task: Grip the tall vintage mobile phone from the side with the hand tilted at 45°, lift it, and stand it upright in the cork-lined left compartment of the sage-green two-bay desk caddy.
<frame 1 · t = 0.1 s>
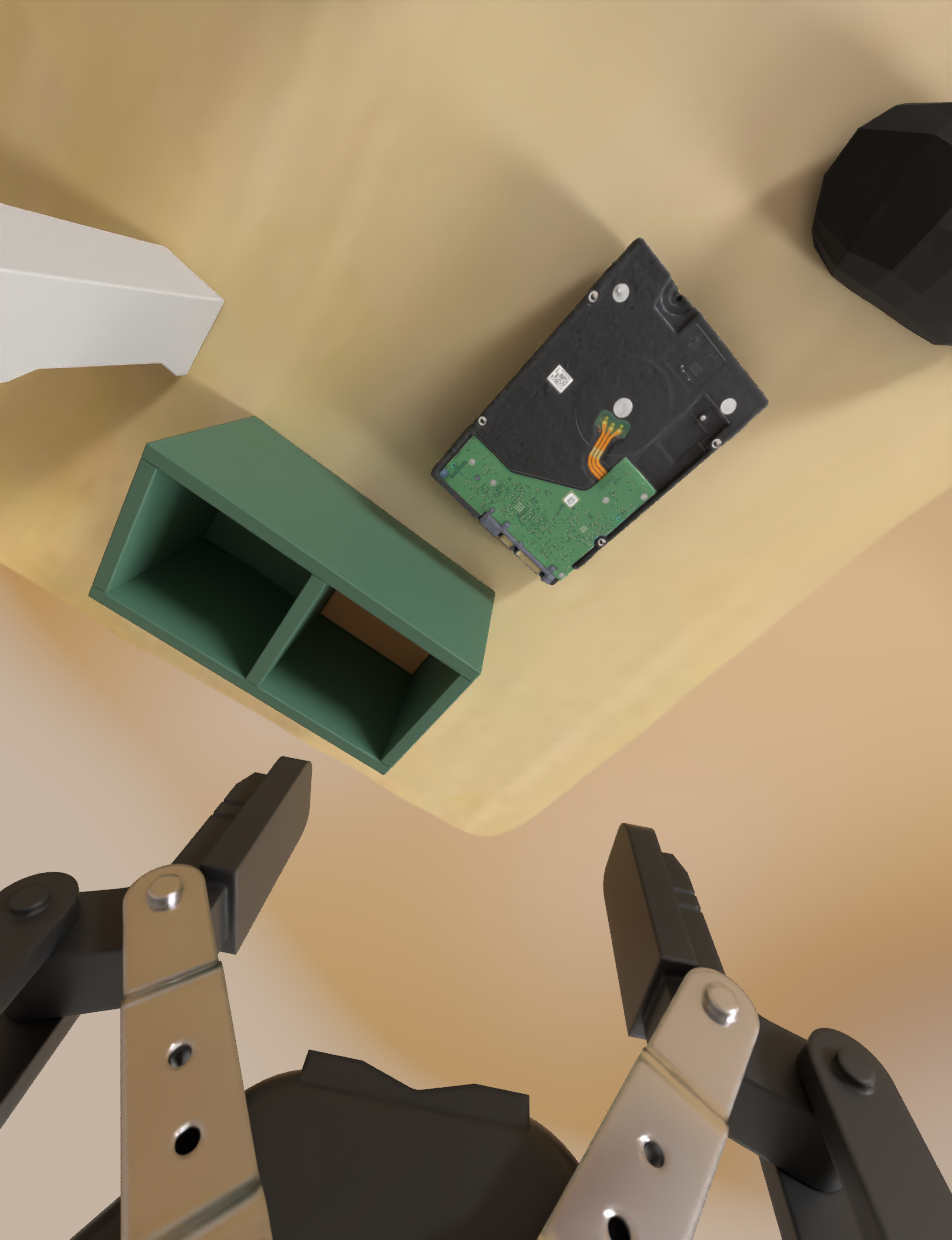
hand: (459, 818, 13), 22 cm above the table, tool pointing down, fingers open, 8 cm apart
vintage mobile phone: (181, 314, 29), on the table
disk drive: (584, 432, 30), on the table
caddy: (345, 563, 35), on the table
gaming mouse: (944, 259, 24), on the table
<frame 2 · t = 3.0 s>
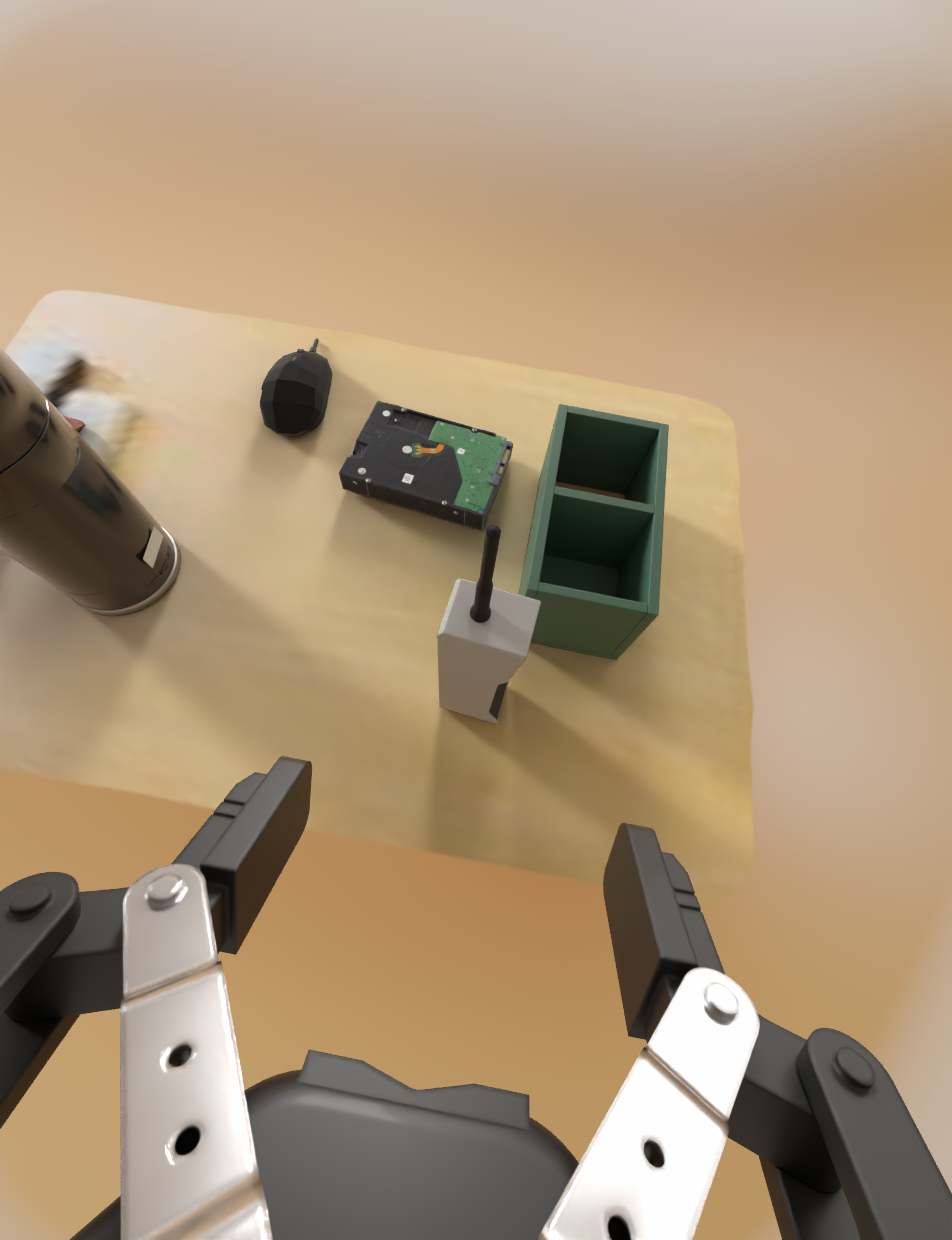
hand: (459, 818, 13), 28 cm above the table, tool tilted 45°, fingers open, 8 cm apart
vintage mobile phone: (473, 696, 44), on the table
disk drive: (429, 474, 53), on the table
caddy: (575, 561, 50), on the table
gaming mouse: (303, 389, 57), on the table
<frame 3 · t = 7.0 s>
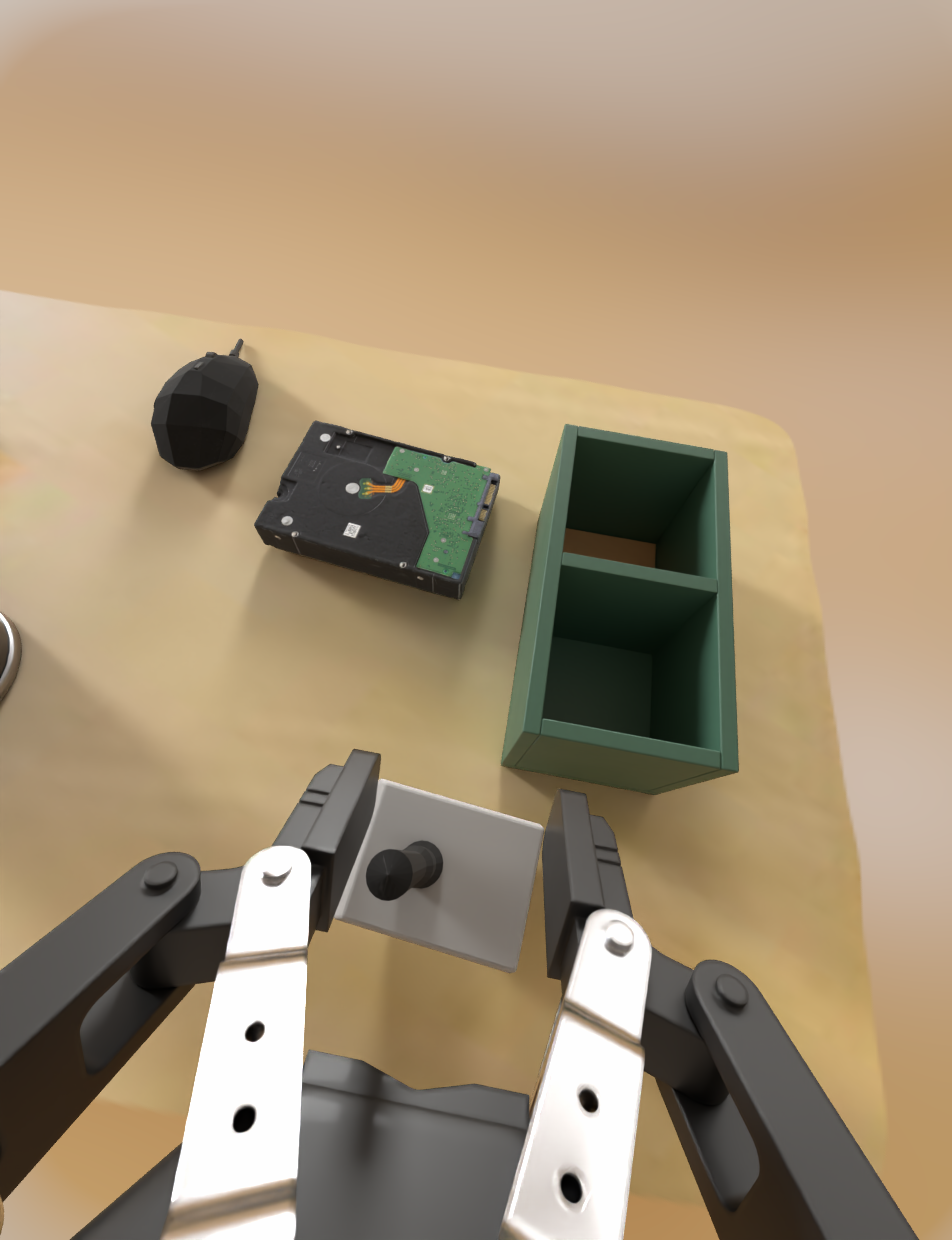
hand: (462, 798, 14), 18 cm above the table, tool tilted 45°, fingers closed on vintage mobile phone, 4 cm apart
vintage mobile phone: (446, 862, 29), on the table, touching gripper
disk drive: (386, 519, 39), on the table
caddy: (590, 642, 35), on the table
gaming mouse: (220, 406, 42), on the table
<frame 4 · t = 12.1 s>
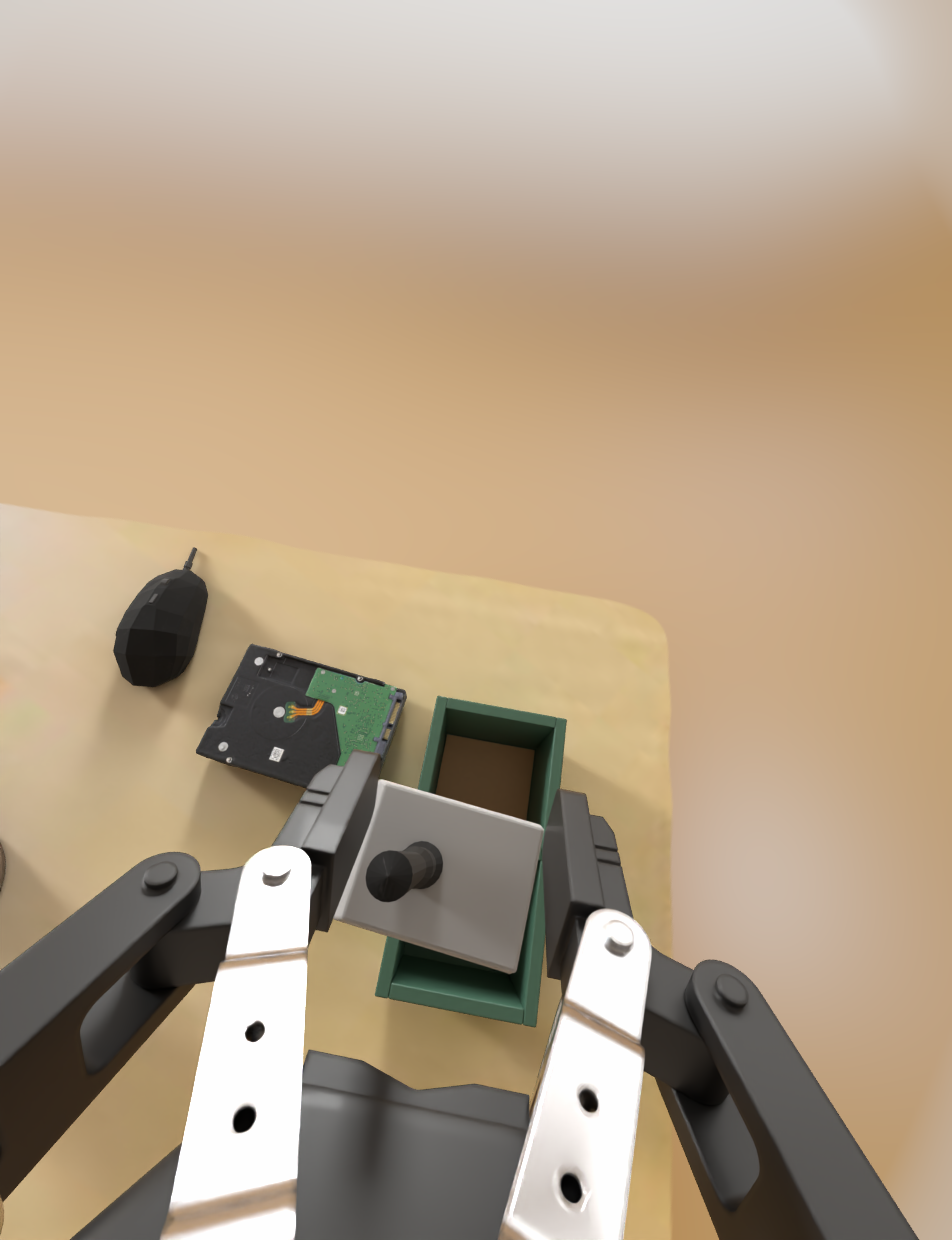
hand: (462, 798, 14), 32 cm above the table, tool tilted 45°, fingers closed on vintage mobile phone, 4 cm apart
vintage mobile phone: (446, 862, 29), point 14 cm above the table, touching gripper
disk drive: (311, 726, 46), on the table
caddy: (474, 844, 43), on the table
gaming mouse: (175, 616, 50), on the table
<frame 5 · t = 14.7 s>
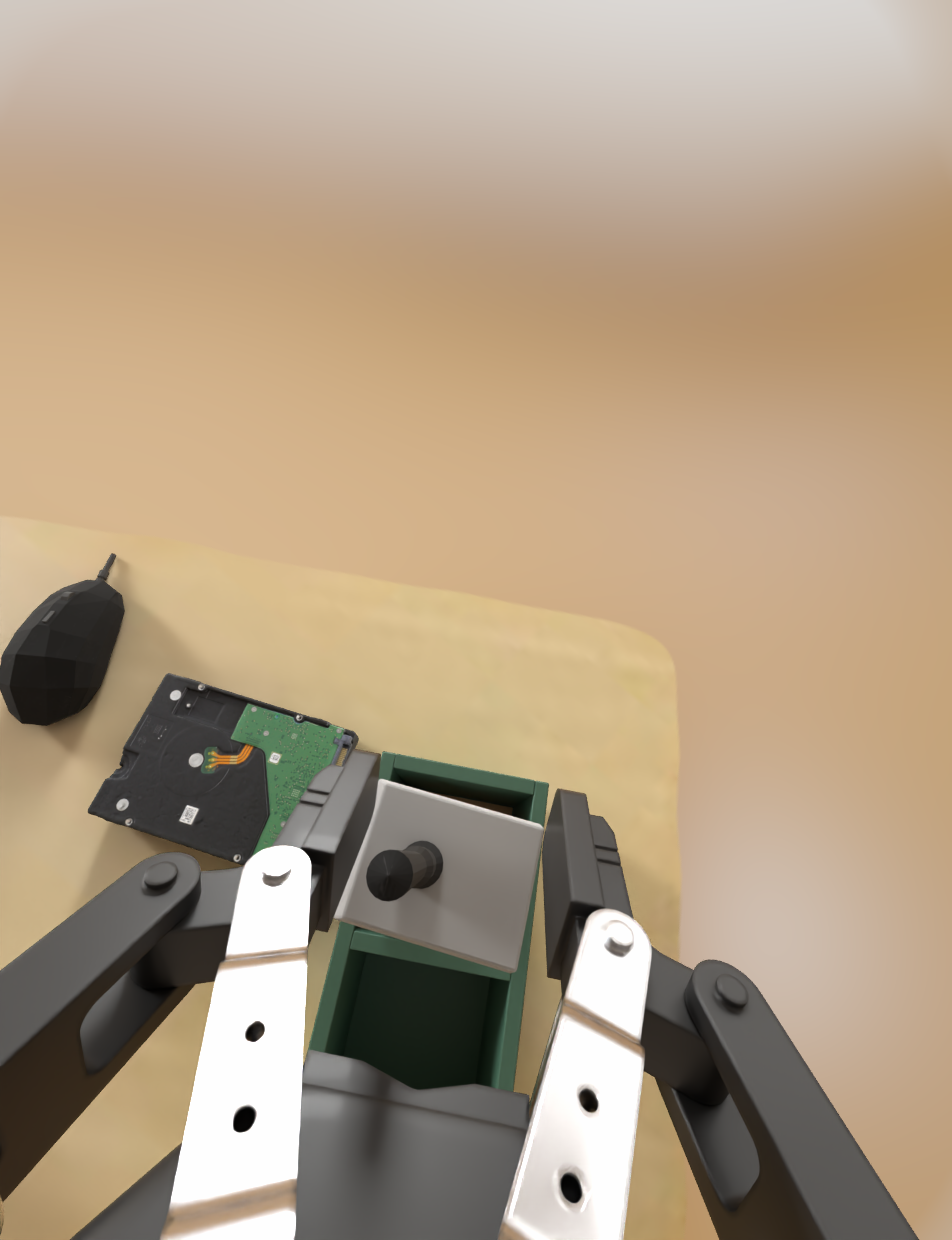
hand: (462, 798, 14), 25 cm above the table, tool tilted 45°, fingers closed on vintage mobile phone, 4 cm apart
vintage mobile phone: (446, 861, 29), point 7 cm above the table, touching gripper
disk drive: (241, 775, 38), on the table
caddy: (435, 927, 34), on the table
gaming mouse: (83, 636, 41), on the table
when the fingers open (19 cm above the table, at t = 17.0 s): vintage mobile phone stays where it is, resting on caddy.
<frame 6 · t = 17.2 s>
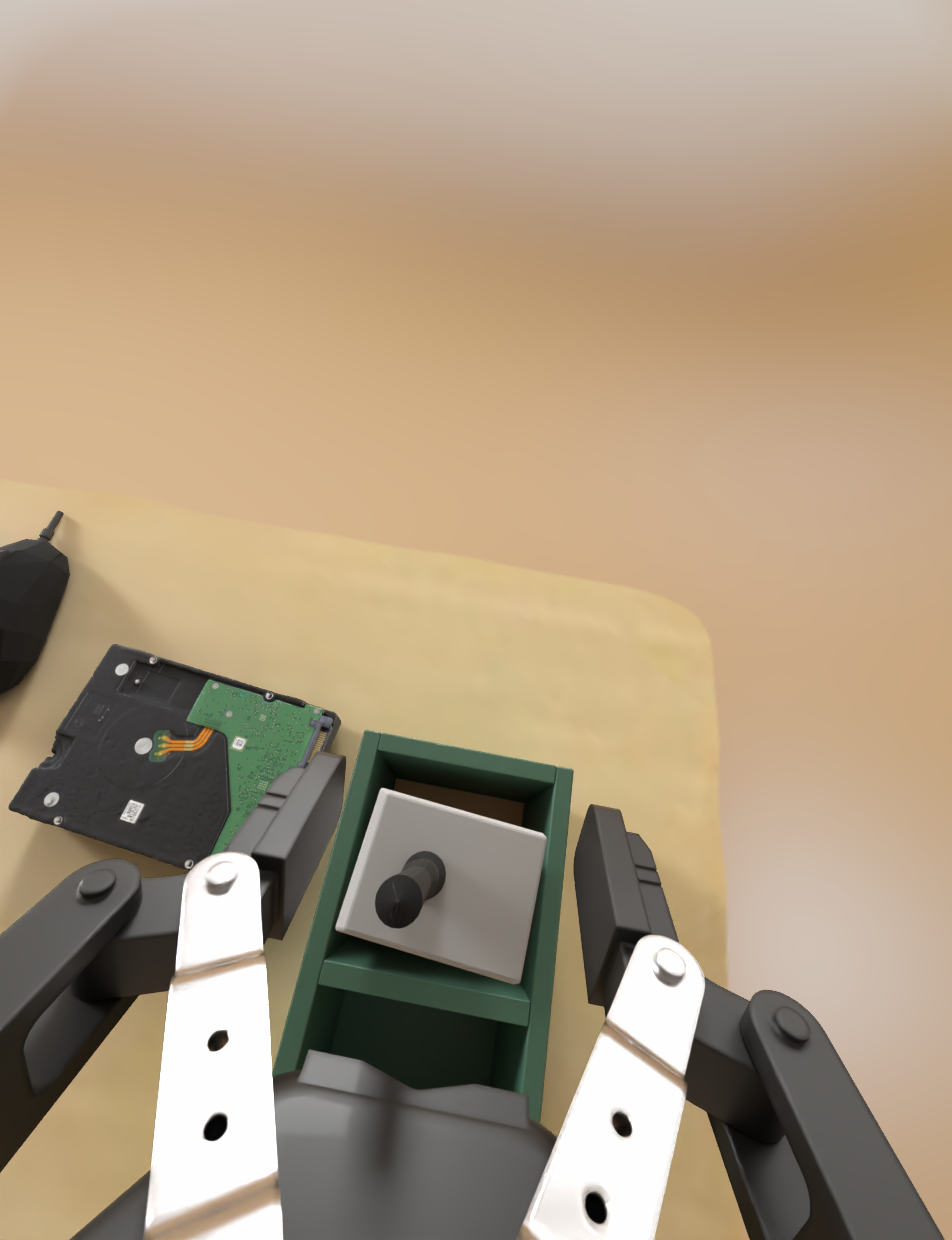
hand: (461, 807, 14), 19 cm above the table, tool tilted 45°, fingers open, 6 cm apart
vintage mobile phone: (445, 865, 29), point 1 cm above the table, touching caddy
disk drive: (201, 765, 32), on the table
caddy: (431, 948, 28), on the table
gaming mouse: (21, 604, 35), on the table
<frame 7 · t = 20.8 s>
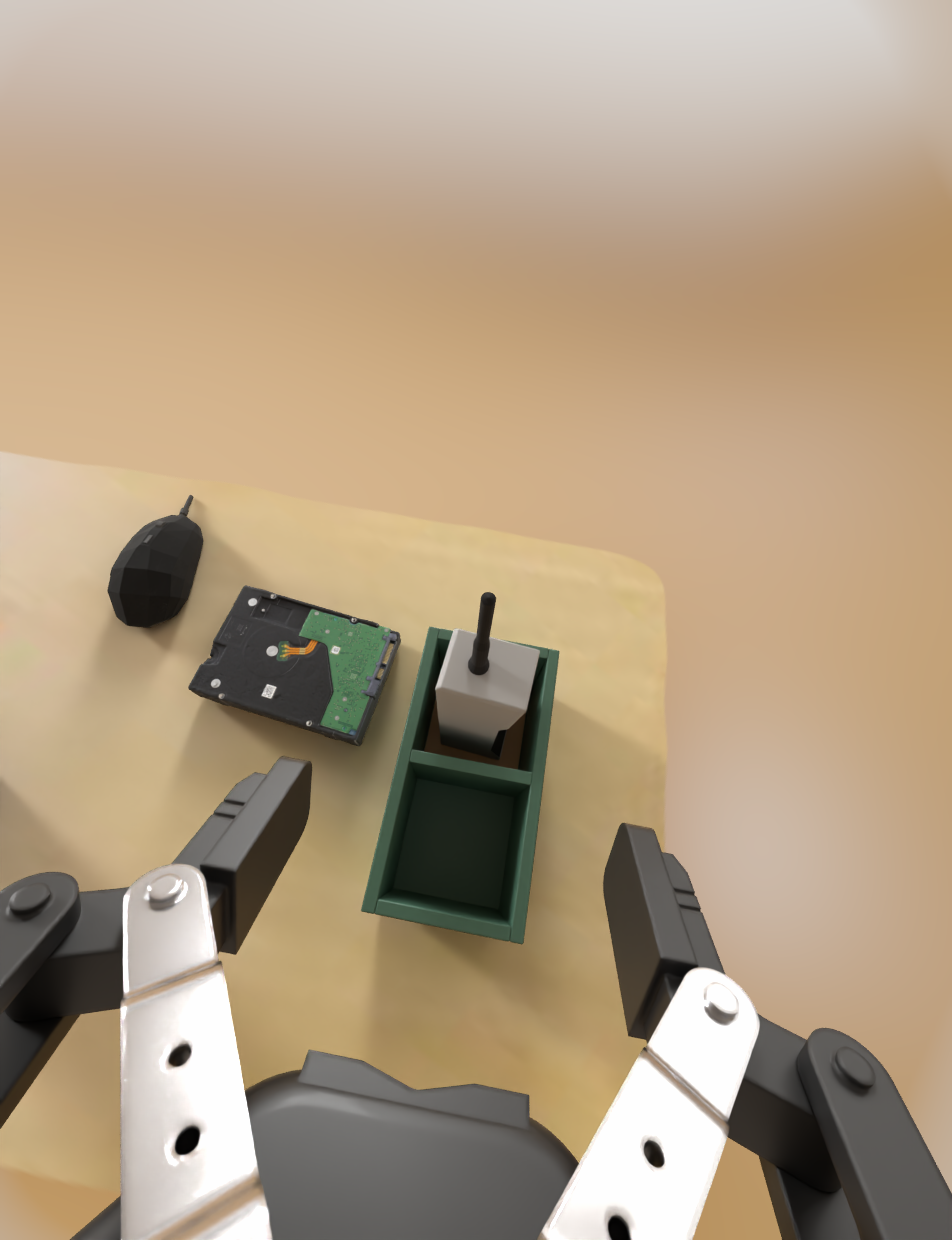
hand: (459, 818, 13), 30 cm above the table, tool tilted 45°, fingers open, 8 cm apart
vintage mobile phone: (475, 731, 43), point 1 cm above the table, touching caddy
disk drive: (305, 668, 46), on the table
caddy: (466, 783, 42), on the table
gaming mouse: (170, 561, 50), on the table
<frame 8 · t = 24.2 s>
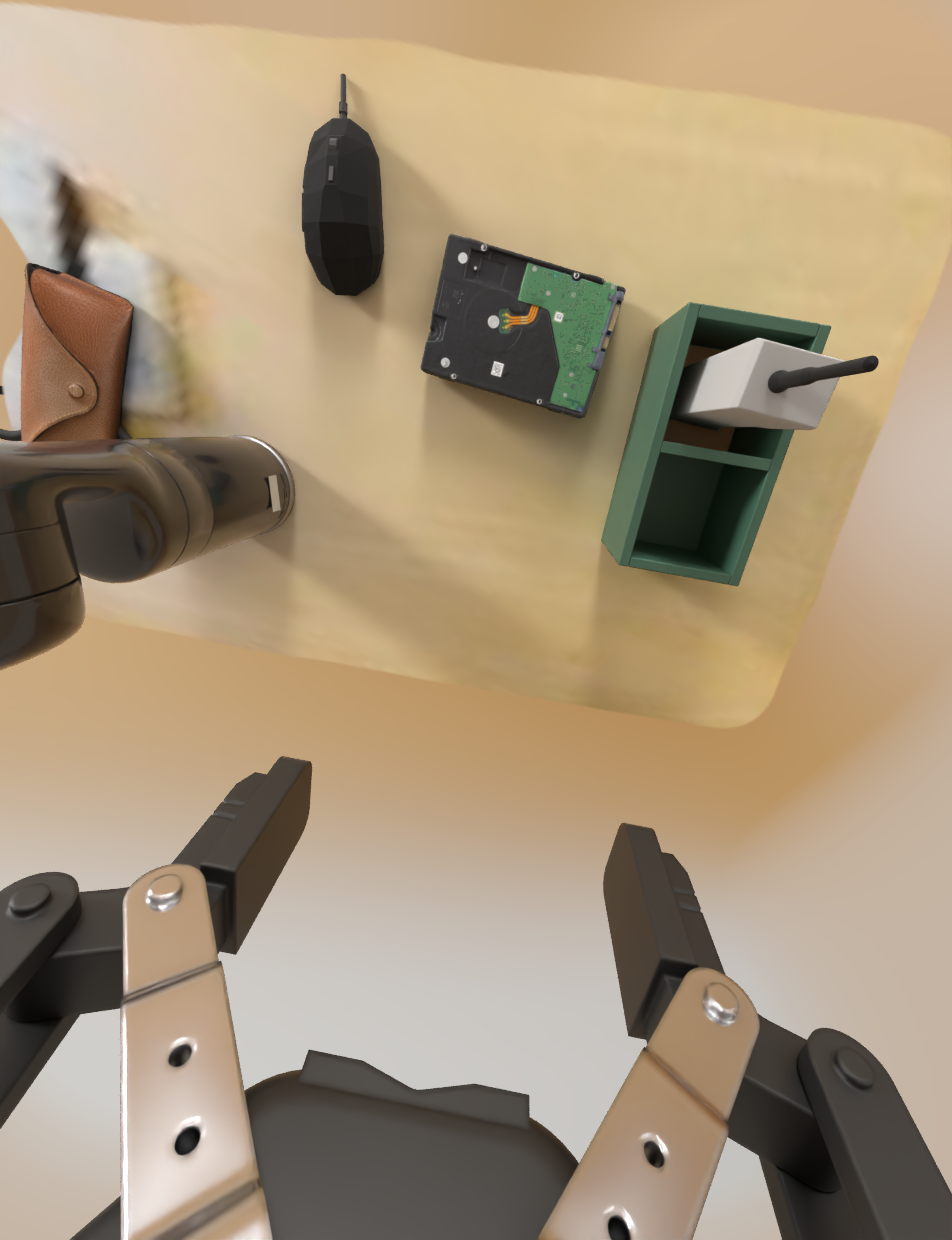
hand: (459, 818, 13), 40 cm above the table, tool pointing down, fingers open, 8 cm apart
sunglasses case: (90, 387, 50), on the table
vintage mobile phone: (694, 401, 45), point 1 cm above the table, touching caddy
disk drive: (520, 335, 45), on the table
caddy: (678, 451, 47), on the table
gaming mouse: (347, 195, 42), on the table
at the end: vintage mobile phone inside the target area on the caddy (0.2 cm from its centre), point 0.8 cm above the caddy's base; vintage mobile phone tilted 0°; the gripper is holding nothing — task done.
